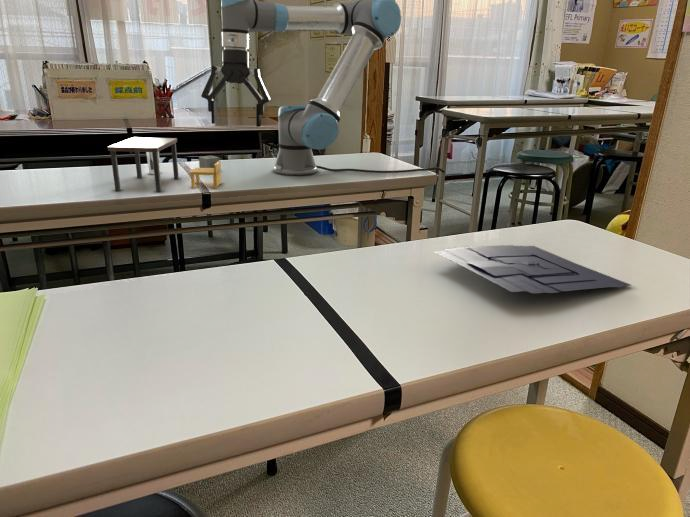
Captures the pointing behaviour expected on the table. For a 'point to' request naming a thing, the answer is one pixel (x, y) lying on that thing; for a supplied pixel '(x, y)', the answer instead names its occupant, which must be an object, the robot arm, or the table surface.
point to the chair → (207, 171)
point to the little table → (139, 146)
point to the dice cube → (207, 161)
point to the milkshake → (150, 161)
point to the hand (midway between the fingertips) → (236, 124)
